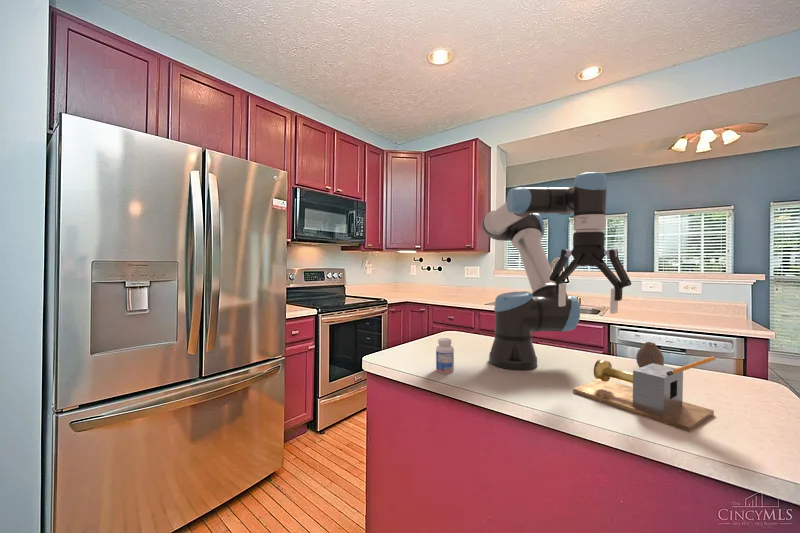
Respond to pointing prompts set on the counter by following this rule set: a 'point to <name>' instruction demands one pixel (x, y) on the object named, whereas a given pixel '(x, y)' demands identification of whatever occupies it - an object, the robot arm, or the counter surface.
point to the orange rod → (693, 364)
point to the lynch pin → (610, 372)
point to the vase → (649, 355)
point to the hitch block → (650, 397)
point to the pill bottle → (444, 356)
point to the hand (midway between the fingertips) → (586, 309)
